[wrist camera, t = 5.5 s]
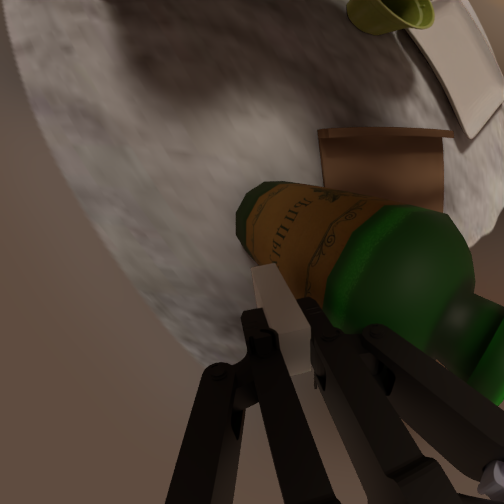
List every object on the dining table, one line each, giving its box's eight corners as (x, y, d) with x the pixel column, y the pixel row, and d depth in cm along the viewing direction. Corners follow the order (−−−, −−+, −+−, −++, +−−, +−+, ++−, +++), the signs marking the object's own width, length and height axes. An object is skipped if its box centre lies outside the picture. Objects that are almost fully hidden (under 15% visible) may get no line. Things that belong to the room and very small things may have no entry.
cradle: (317, 129, 28) (328, 128, 25) (439, 130, 29) (453, 130, 27) (329, 274, 35) (338, 285, 32) (438, 245, 36) (450, 252, 33)
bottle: (272, 148, 27) (598, 225, 3) (325, 214, 32) (551, 326, 9) (201, 226, 27) (471, 497, 3) (268, 281, 32) (463, 463, 9)
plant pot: (318, 5, 22) (349, -27, 14) (359, -18, 20) (391, -43, 12) (371, 57, 25) (414, 41, 17) (405, 30, 23) (445, 15, 15)
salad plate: (384, 19, 23) (397, 12, 20) (443, -5, 20) (455, -9, 17) (455, 141, 31) (471, 143, 28) (498, 92, 28) (510, 92, 25)
